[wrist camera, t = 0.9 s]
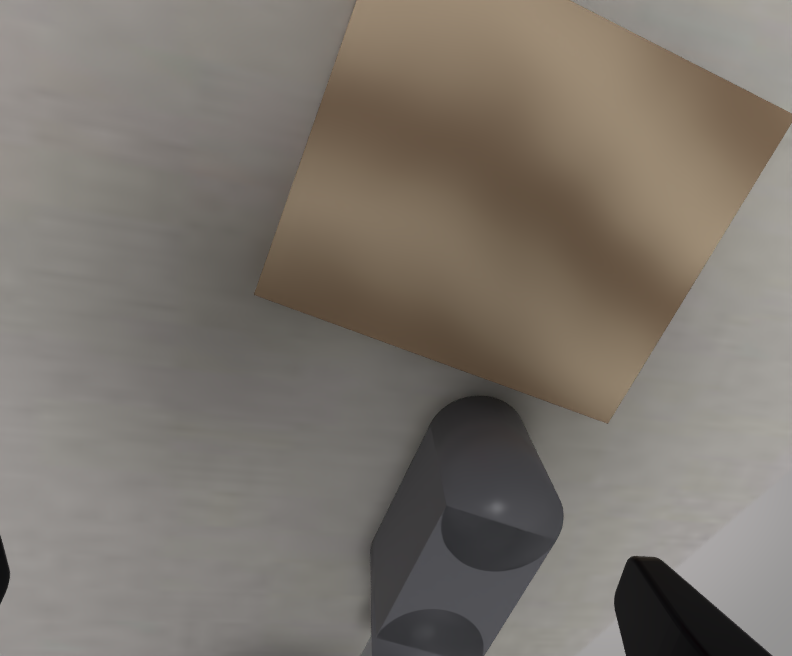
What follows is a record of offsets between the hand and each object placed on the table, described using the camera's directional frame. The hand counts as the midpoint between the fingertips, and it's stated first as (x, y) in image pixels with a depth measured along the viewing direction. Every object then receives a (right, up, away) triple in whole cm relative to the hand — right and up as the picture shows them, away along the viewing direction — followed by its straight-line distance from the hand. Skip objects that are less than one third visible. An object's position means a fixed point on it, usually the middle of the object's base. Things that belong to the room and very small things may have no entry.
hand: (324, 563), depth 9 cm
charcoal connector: (+3, -5, +17) cm, 18 cm away
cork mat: (+5, +8, +12) cm, 15 cm away
